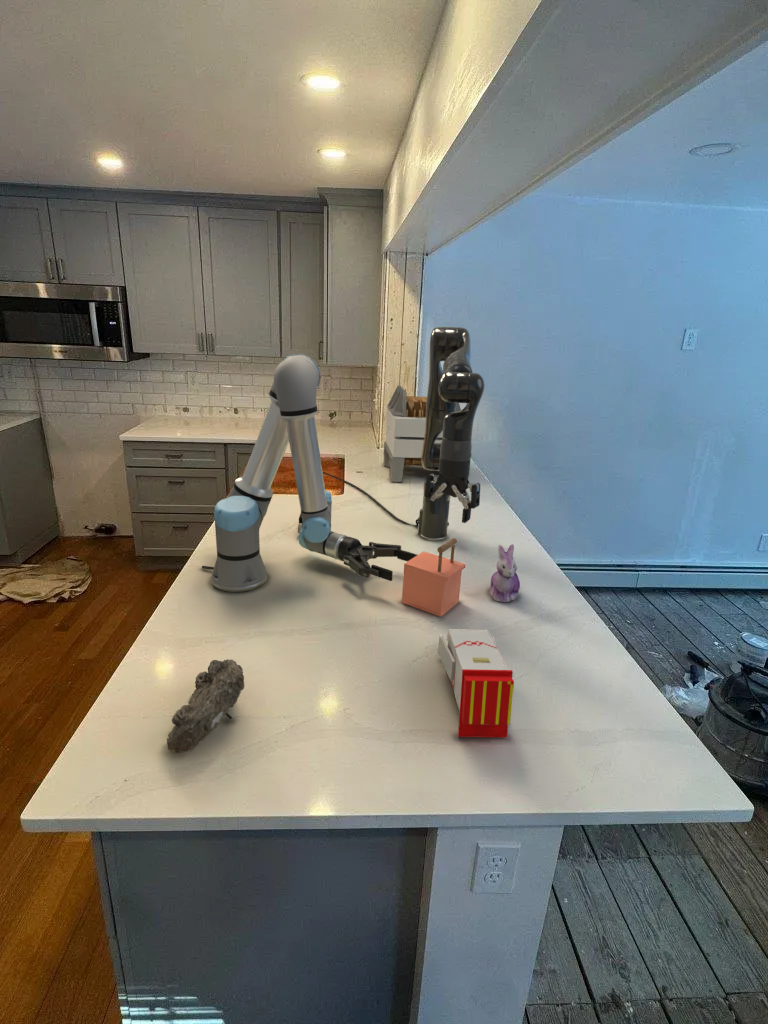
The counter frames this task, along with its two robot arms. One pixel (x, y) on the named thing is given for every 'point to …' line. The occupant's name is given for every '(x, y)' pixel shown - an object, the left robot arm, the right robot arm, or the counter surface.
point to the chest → (430, 591)
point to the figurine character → (300, 523)
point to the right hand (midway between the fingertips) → (449, 518)
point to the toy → (478, 682)
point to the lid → (437, 563)
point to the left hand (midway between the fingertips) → (405, 567)
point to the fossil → (206, 705)
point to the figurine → (505, 577)
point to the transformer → (405, 432)
